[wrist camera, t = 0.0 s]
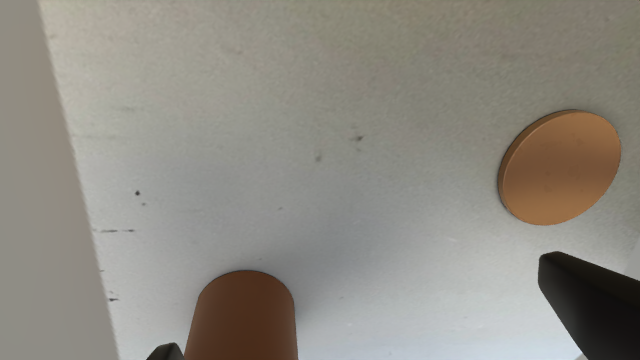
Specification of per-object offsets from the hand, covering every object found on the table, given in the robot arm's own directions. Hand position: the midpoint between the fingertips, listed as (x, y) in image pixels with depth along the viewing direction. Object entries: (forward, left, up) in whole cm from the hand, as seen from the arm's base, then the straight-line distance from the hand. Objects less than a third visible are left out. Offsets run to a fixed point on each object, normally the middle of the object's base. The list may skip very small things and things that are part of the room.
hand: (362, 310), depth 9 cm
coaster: (-5, -14, -12) cm, 19 cm away
